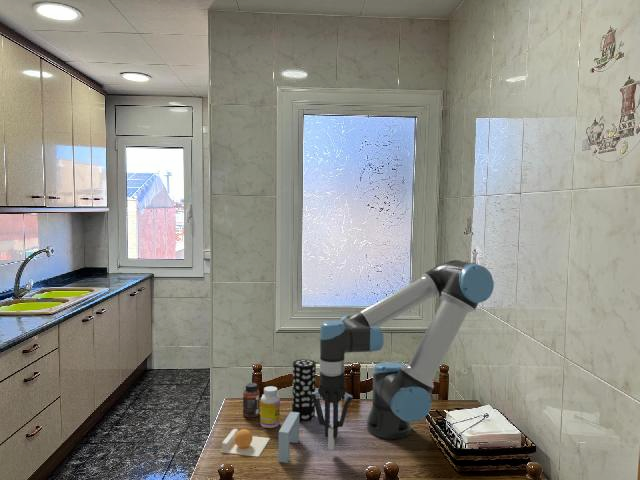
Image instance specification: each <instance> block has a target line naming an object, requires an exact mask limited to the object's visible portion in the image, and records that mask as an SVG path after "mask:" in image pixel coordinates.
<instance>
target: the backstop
mask: <svg viewBox="0 0 640 480" xmlns="http://www.w3.org/2000/svg"><path fill="white" fill-rule="evenodd" d="M238 431H239V429H238V428H233V429H232V430H231V431H230V433H229V434H228V435H227V436H226V438H224V440H223V441H222V442H221V451H222V450H224V451H227V449H228V448H229V447H230V445H231V444H232V443H233V442H234V440H235V436H236V434H237V432H238Z"/></svg>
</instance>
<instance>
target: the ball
mask: <svg viewBox="0 0 640 480" xmlns="http://www.w3.org/2000/svg"><path fill="white" fill-rule="evenodd" d="M252 436H253V434H252V433H251V431H250V430H249V429H245V428H244V429H243V428H242V429H240V430H238V432H237V434H236V436H235V443H236V445H237V446H238V447H240V448H246V447H248V446H249V445H250V444H251V442H252Z"/></svg>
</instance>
